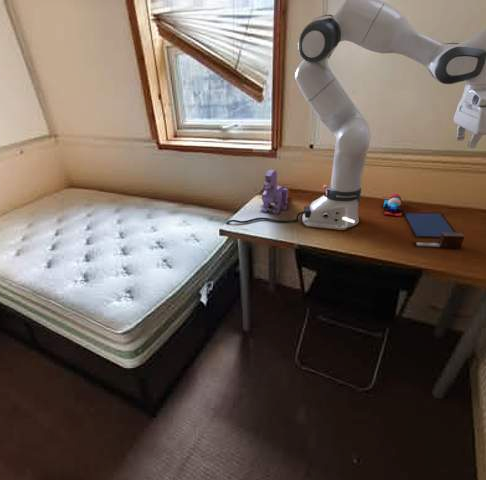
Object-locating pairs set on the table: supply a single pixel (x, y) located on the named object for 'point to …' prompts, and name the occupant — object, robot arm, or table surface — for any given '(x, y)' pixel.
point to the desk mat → (428, 224)
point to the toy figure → (393, 205)
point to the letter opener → (446, 241)
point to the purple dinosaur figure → (274, 193)
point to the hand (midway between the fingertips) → (465, 143)
